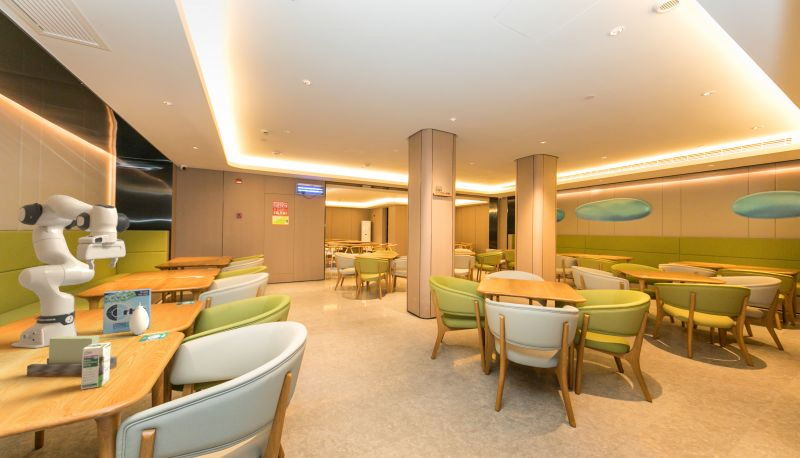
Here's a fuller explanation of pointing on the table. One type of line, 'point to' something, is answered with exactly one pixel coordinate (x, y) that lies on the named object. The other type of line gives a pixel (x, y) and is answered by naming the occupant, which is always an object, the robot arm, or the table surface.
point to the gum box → (123, 308)
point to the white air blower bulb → (139, 321)
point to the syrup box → (95, 365)
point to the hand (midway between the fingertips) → (102, 268)
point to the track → (60, 369)
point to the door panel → (69, 348)
